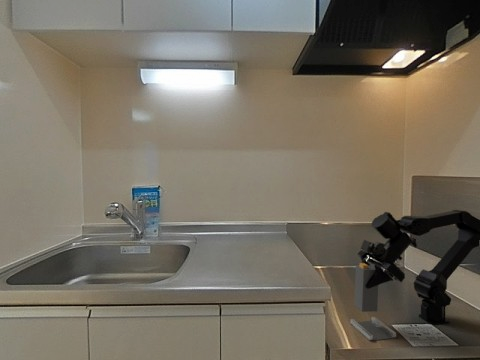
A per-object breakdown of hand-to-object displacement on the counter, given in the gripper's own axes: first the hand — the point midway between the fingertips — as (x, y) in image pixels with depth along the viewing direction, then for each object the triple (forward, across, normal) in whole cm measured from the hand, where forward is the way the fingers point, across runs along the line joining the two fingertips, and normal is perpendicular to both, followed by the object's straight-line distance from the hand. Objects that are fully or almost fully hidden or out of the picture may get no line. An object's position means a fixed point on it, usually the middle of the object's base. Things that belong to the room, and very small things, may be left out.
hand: (362, 284), depth 102 cm
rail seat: (+8, +3, +10) cm, 14 cm away
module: (+5, 0, +6) cm, 8 cm away
